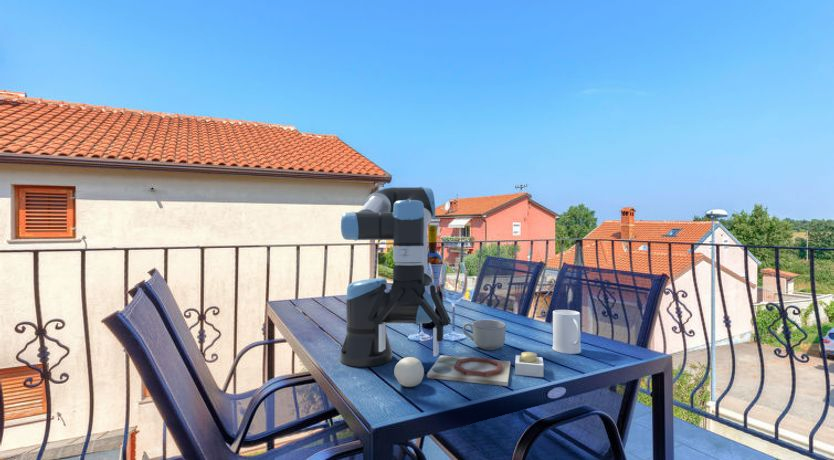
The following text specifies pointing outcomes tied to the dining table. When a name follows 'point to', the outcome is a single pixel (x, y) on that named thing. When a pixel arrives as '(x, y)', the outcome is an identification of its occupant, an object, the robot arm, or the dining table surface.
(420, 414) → the dining table surface
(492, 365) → the picture board
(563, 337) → the mug
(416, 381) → the white ball
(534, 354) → the button
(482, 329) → the teacup
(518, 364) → the button housing
